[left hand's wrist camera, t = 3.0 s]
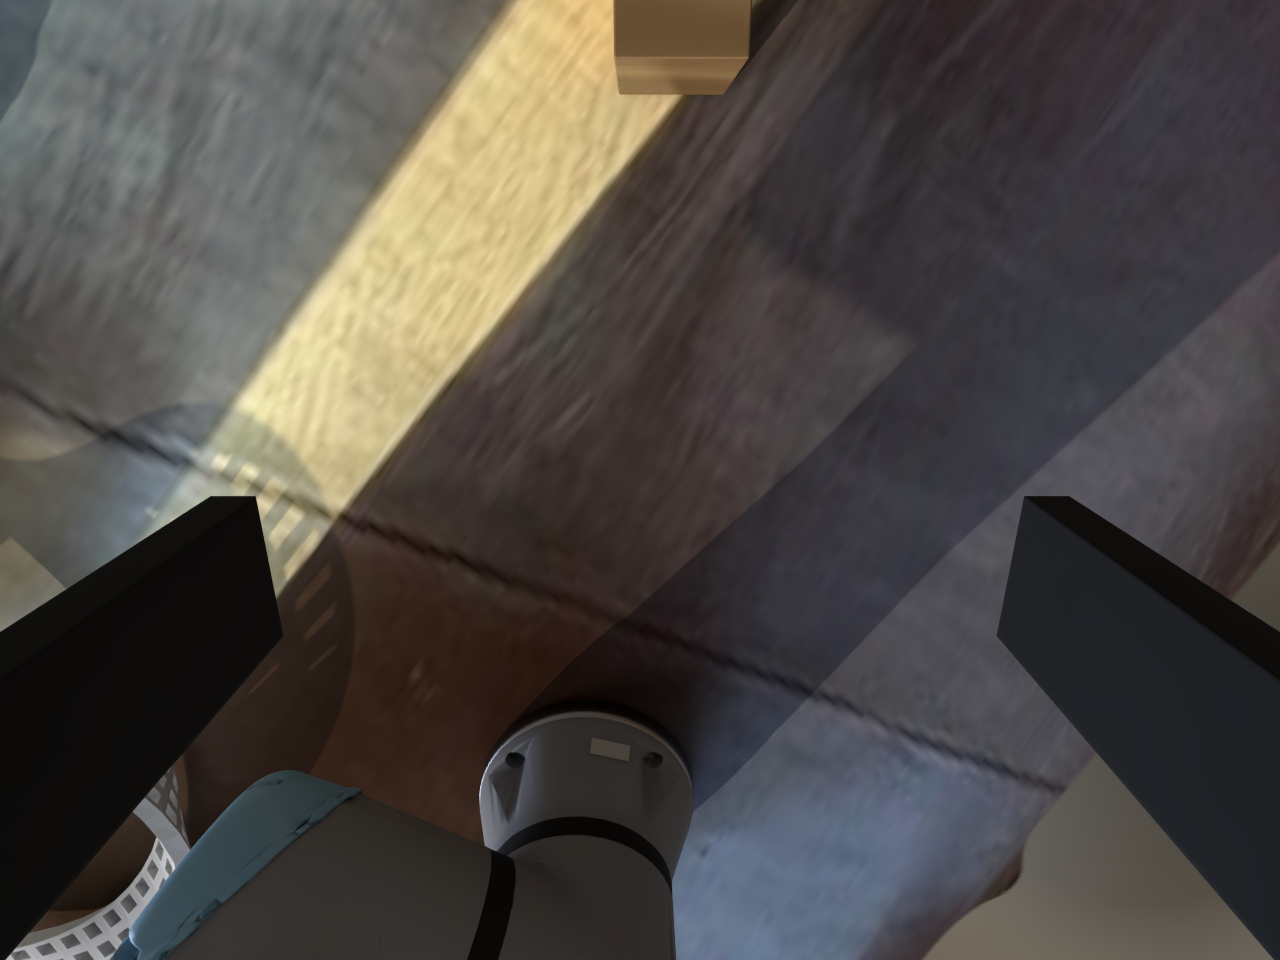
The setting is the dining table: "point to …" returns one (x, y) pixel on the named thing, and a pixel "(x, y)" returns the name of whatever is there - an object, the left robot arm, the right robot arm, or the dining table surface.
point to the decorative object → (85, 946)
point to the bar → (680, 45)
